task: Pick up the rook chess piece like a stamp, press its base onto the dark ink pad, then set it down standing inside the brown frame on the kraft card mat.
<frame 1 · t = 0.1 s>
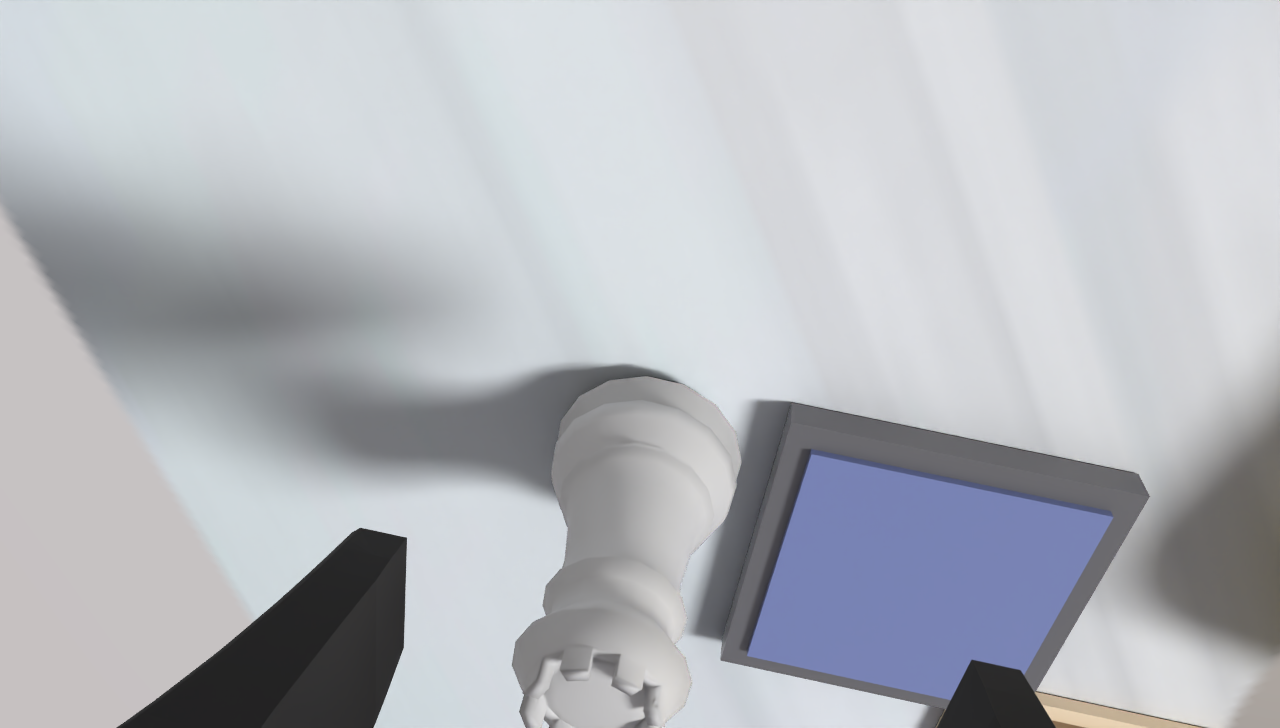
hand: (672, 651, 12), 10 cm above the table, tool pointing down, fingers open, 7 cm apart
rook chess piece: (651, 438, 23), on the table
ink pad: (910, 563, 24), on the table
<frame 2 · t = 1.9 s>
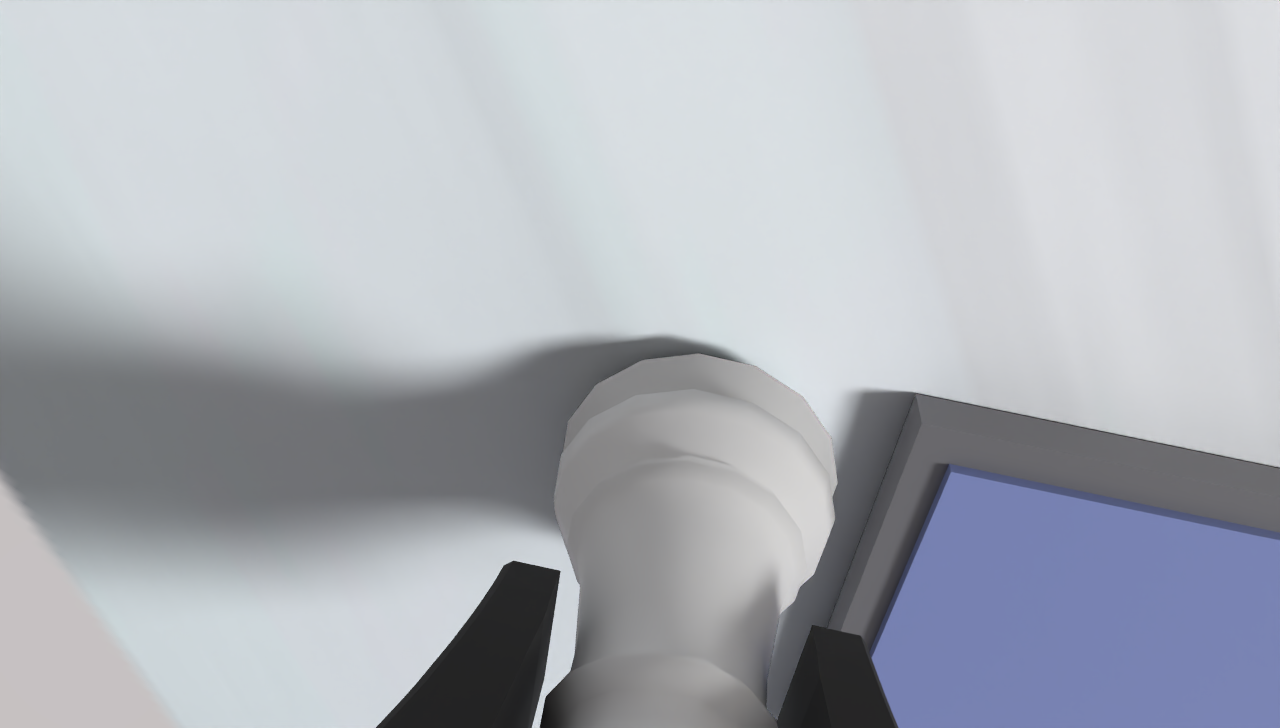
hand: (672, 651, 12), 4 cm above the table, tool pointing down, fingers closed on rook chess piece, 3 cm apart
rook chess piece: (700, 447, 16), on the table, touching gripper
ink pad: (1071, 627, 16), on the table
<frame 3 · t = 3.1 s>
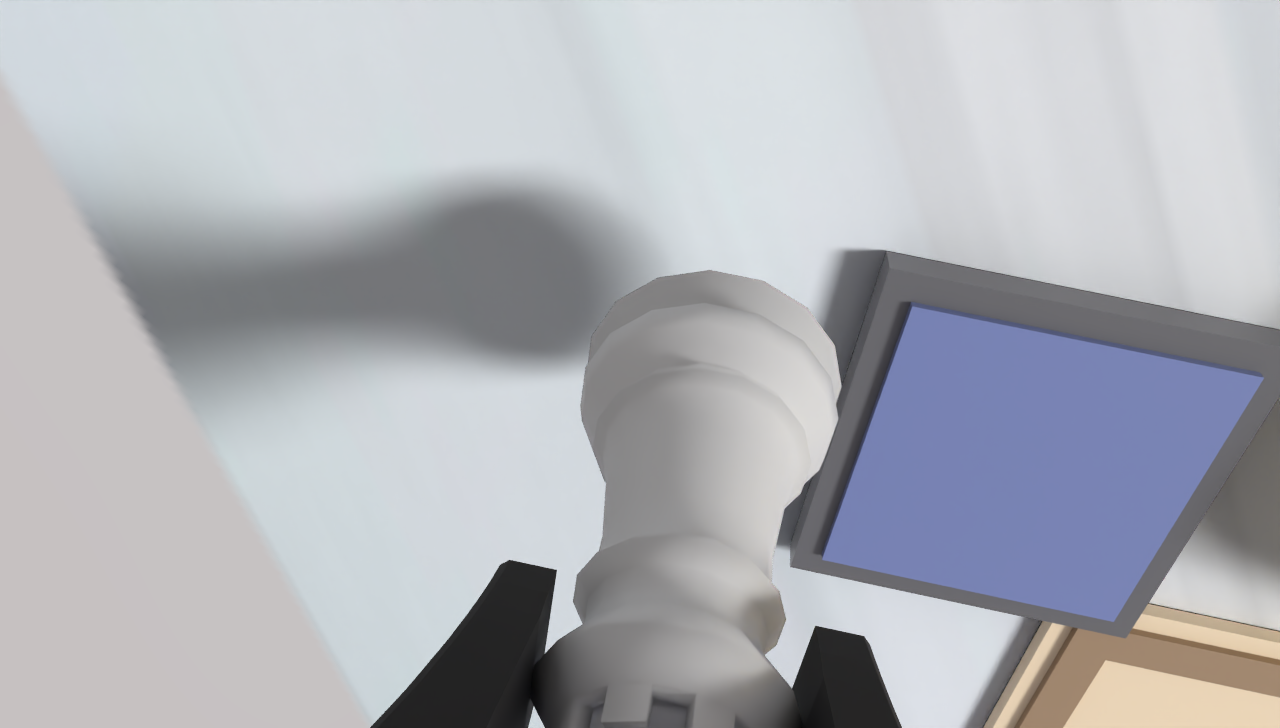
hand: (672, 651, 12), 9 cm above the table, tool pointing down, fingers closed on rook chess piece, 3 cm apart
rook chess piece: (714, 357, 17), point 3 cm above the table, touching gripper
ink pad: (1012, 449, 21), on the table
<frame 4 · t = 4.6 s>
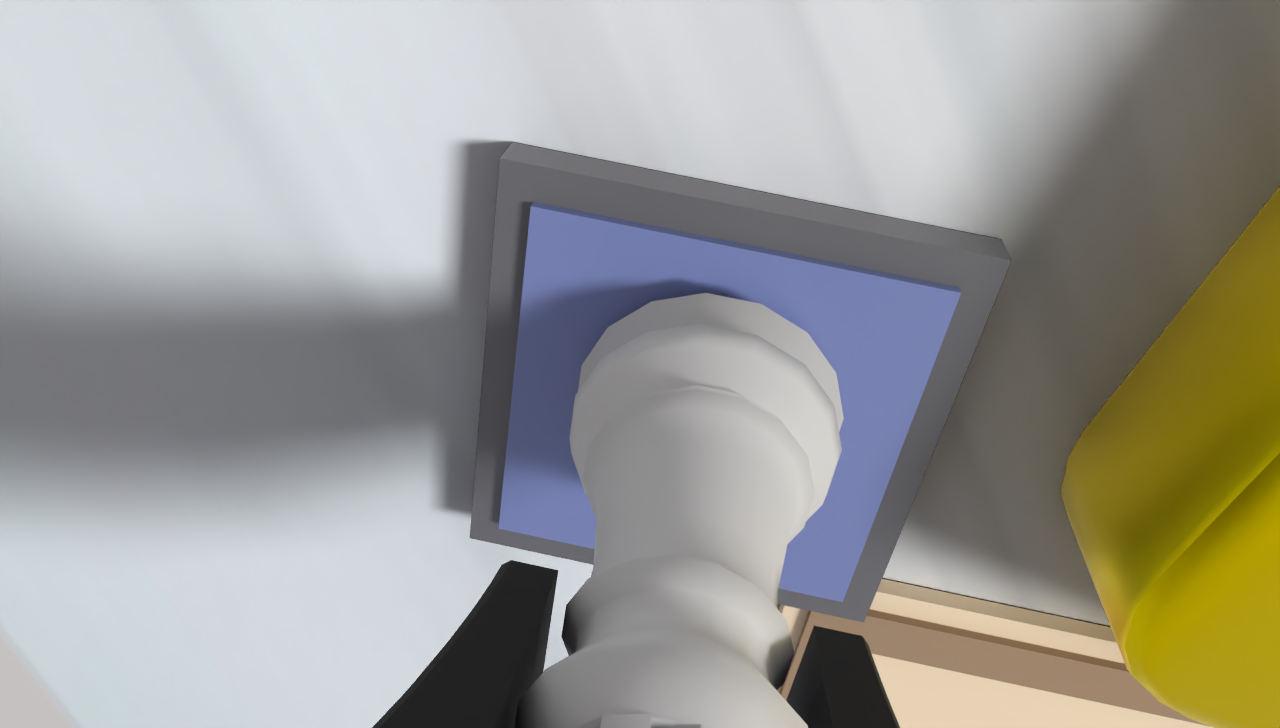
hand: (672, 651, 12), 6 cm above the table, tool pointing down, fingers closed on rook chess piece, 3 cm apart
rook chess piece: (709, 390, 16), point 1 cm above the table, touching gripper, ink pad
ink pad: (707, 393, 17), on the table
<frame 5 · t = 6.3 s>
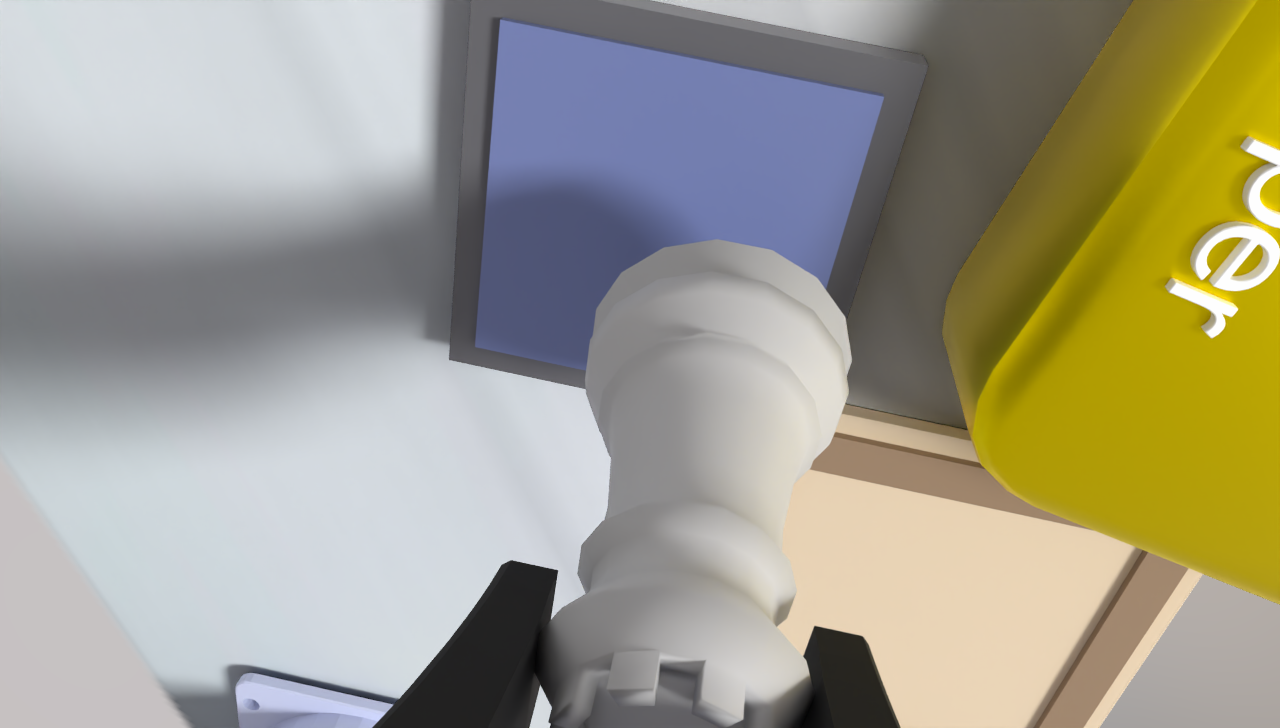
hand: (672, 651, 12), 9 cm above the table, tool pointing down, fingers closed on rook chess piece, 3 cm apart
rook chess piece: (721, 332, 17), point 3 cm above the table, touching gripper
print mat: (914, 609, 23), on the table
ink pad: (663, 215, 19), on the table
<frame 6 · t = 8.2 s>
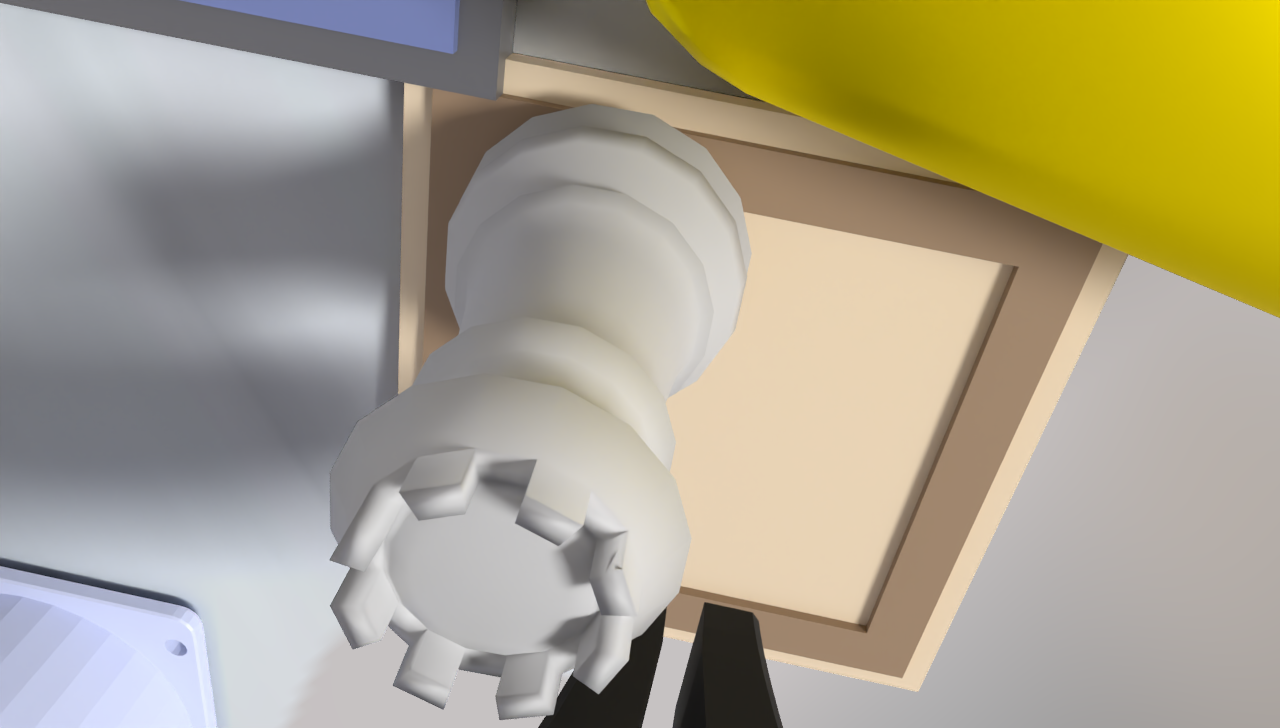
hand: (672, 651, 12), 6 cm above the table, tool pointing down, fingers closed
rook chess piece: (607, 237, 15), point 1 cm above the table, touching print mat
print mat: (706, 407, 17), on the table
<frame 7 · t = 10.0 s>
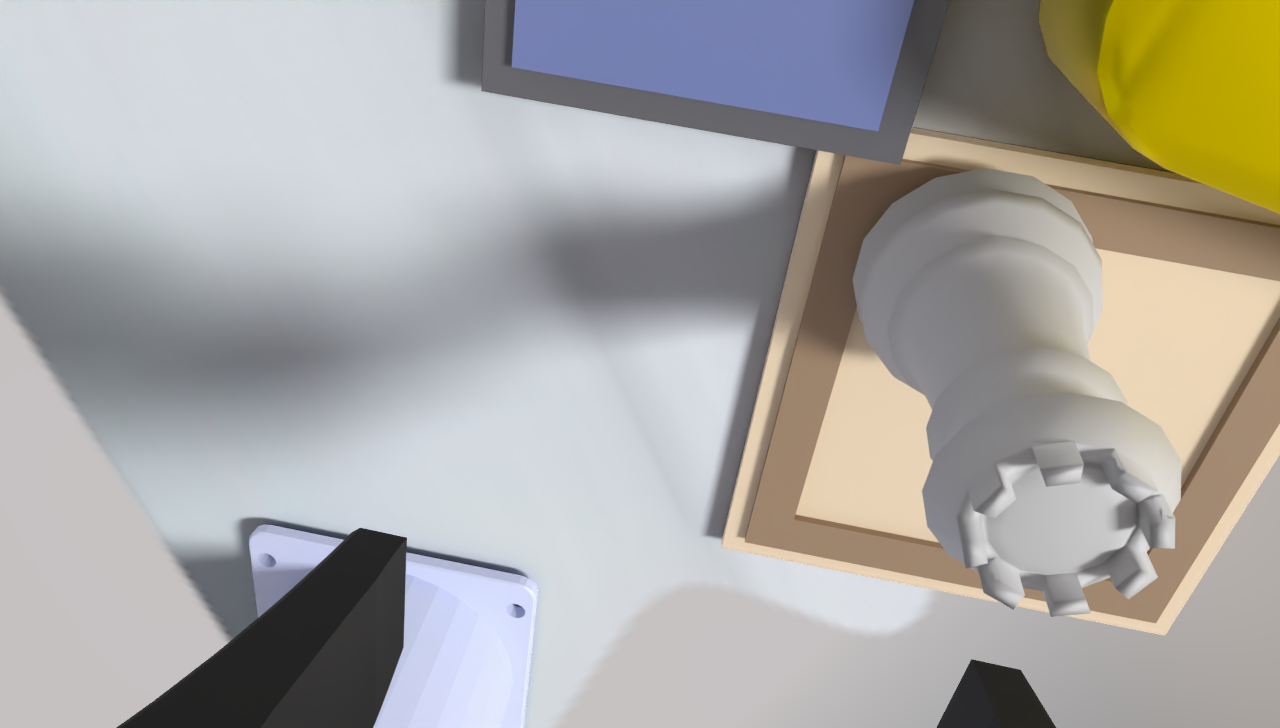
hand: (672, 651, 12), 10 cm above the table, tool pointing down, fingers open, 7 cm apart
rook chess piece: (965, 264, 19), resting on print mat
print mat: (1014, 400, 21), on the table
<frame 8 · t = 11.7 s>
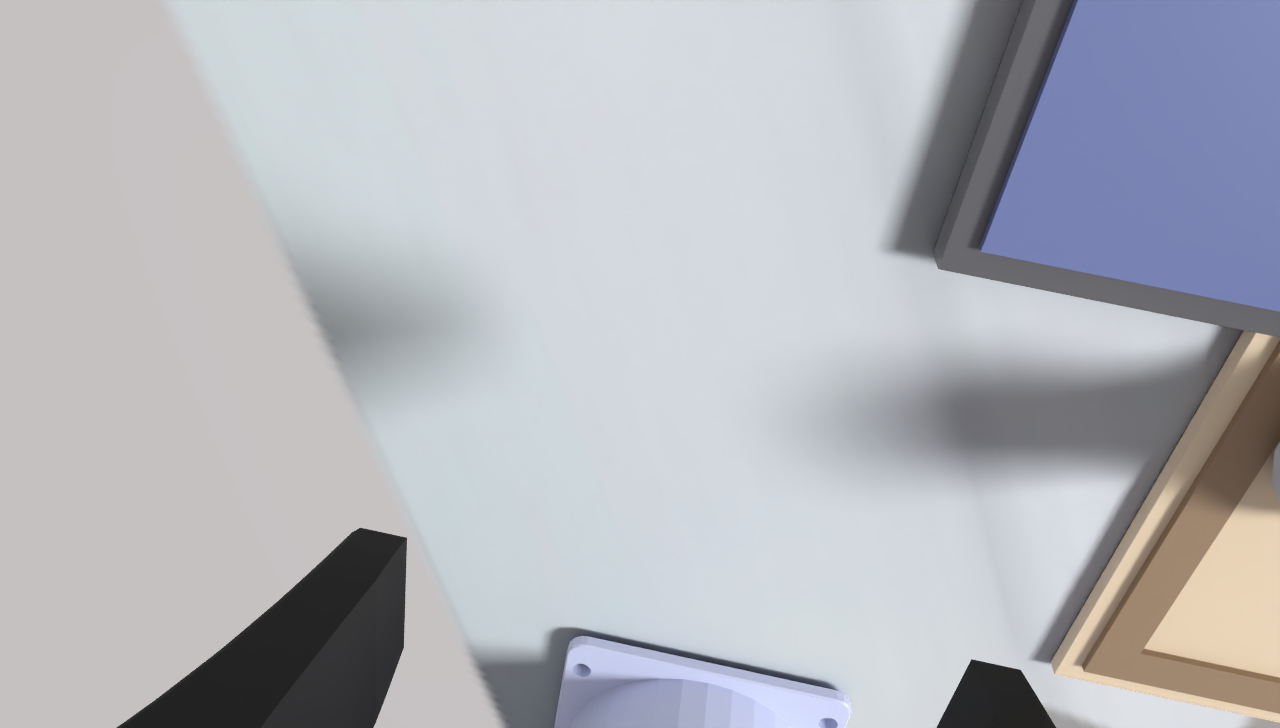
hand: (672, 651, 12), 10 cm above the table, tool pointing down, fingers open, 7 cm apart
ink pad: (1224, 96, 17), on the table
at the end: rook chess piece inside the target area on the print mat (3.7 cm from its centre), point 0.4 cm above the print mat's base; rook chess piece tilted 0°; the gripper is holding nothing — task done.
